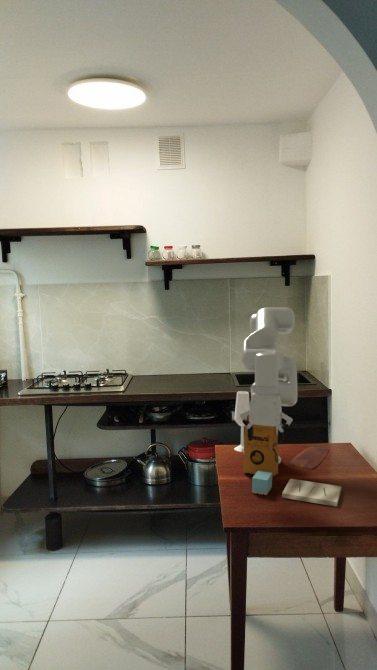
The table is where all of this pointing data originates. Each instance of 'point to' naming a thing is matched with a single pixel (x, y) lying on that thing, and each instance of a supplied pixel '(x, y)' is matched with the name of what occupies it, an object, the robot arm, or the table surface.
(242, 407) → the champagne flute
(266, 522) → the table surface
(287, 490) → the birch board
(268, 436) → the coffee package
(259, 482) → the block
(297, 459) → the wooden tablet
